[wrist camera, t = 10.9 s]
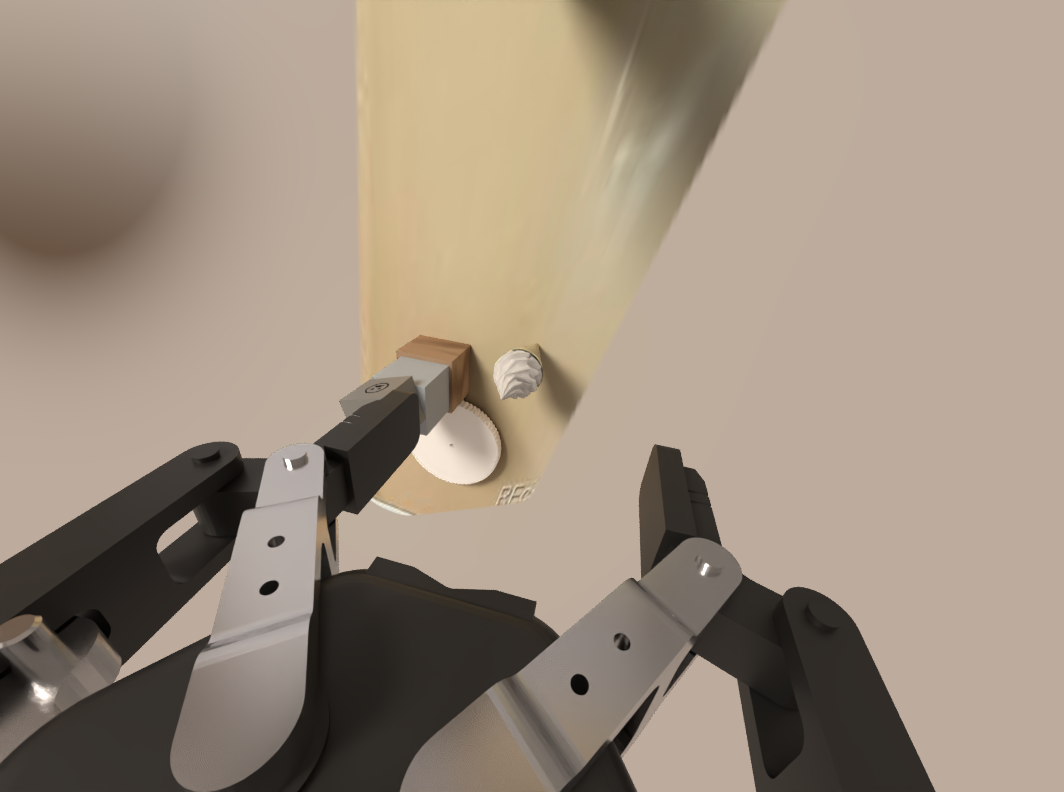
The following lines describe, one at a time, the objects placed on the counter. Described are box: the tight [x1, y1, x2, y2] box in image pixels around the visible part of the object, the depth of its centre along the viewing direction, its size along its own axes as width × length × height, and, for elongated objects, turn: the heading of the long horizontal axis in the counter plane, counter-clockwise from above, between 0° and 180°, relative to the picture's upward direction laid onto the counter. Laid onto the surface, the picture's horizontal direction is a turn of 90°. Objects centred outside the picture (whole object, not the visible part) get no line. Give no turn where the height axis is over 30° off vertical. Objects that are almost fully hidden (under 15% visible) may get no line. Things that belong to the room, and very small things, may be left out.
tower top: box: [372, 356, 449, 436], centre depth 43 cm, size 6×6×6 cm
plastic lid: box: [412, 400, 502, 485], centre depth 55 cm, size 14×14×2 cm
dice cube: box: [339, 376, 426, 425], centre depth 38 cm, size 5×5×5 cm
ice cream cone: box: [493, 344, 544, 401], centre depth 40 cm, size 5×5×15 cm
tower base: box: [396, 335, 471, 413], centre depth 48 cm, size 7×7×6 cm
